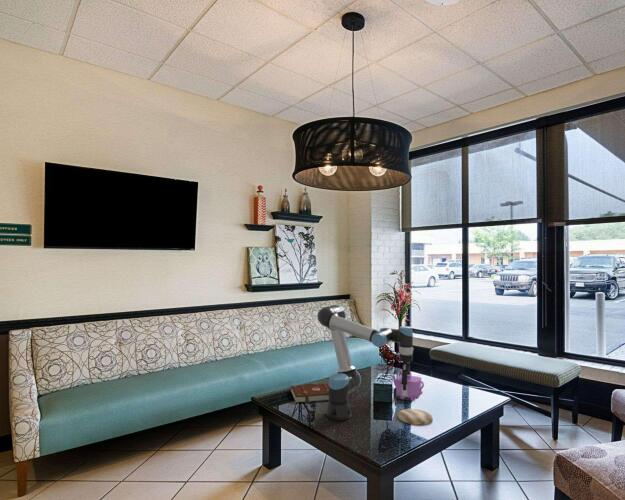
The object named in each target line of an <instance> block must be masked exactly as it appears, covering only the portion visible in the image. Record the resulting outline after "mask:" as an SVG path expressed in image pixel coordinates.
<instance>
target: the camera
mask: <svg viewBox="0 0 625 500" xmlns="http://www.w3.org/2000/svg"><path fill="white" fill-rule="evenodd" d="M392 396H393V399H397V400H402V401H409V402H412V400H411V398H408V397H405V398H404V399H401V398H400V397H401V396H396V386H395V387H394V388H393V395H392Z"/></svg>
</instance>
